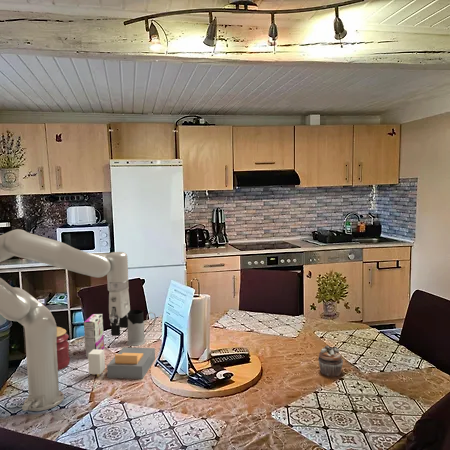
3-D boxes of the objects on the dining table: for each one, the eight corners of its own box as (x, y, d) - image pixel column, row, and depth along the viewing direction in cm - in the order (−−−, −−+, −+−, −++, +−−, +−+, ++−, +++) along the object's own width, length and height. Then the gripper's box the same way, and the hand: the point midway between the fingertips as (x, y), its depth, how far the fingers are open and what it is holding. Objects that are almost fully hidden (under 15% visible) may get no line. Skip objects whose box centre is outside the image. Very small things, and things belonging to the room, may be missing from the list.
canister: (57, 374, 160) (55, 331, 159) (29, 371, 163) (26, 329, 161) (76, 360, 173) (74, 320, 171) (49, 358, 175) (47, 319, 174)
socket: (142, 378, 155) (142, 366, 154) (107, 377, 156) (107, 365, 156) (155, 359, 173) (154, 348, 172) (123, 358, 174) (123, 347, 174)
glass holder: (125, 340, 195) (124, 310, 193) (153, 336, 201) (153, 306, 199) (128, 347, 187) (127, 315, 185) (158, 342, 193) (157, 311, 191)
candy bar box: (93, 348, 186) (92, 313, 185) (104, 348, 186) (103, 313, 185) (84, 358, 175) (83, 321, 173) (96, 358, 175) (94, 321, 173)
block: (100, 377, 156) (99, 354, 155) (89, 377, 157) (88, 354, 156) (105, 372, 161) (104, 349, 160) (94, 372, 161) (93, 349, 160)
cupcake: (315, 374, 157) (315, 349, 156) (321, 364, 165) (321, 341, 164) (340, 379, 152) (340, 354, 151) (345, 369, 161) (345, 345, 160)
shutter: (137, 363, 156) (136, 355, 156) (115, 363, 157) (114, 355, 157) (143, 355, 165) (143, 347, 164) (122, 354, 166) (122, 346, 165)
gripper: (119, 291, 140) (121, 340, 141) (135, 280, 157) (136, 323, 159) (98, 291, 141) (101, 339, 142) (116, 280, 158) (118, 323, 159)
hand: (119, 331), depth 150 cm, fingers open, 7 cm apart
